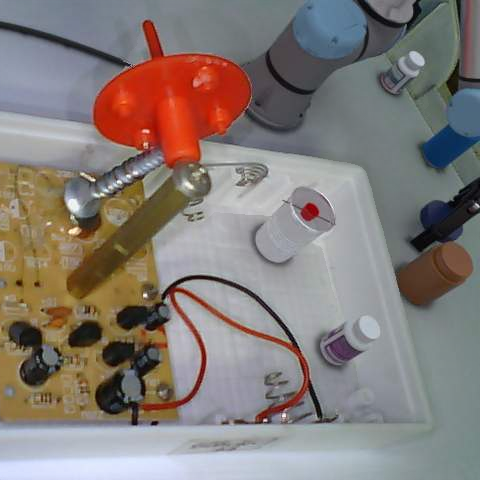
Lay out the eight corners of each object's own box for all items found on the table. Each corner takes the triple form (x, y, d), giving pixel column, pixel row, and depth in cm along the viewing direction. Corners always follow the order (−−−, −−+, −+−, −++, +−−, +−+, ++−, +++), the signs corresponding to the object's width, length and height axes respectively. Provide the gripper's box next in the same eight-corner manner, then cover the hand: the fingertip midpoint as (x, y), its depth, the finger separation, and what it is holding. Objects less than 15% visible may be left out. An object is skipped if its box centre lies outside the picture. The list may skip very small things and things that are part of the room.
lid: (456, 250, 148) (465, 244, 146) (420, 234, 146) (429, 228, 144) (452, 215, 153) (461, 209, 151) (418, 200, 151) (426, 193, 149)
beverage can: (445, 154, 168) (487, 121, 159) (443, 175, 164) (486, 142, 155) (421, 139, 167) (462, 105, 158) (418, 160, 163) (460, 126, 154)
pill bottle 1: (349, 367, 128) (387, 345, 120) (322, 364, 125) (359, 342, 118) (342, 336, 130) (380, 313, 123) (316, 333, 128) (352, 309, 121)
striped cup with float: (299, 235, 137) (340, 200, 128) (295, 275, 132) (338, 242, 123) (250, 213, 135) (288, 176, 125) (244, 253, 130) (284, 217, 120)
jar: (402, 303, 140) (446, 276, 132) (392, 264, 144) (434, 235, 136) (436, 308, 144) (481, 282, 135) (425, 269, 147) (468, 241, 139)
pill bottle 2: (398, 80, 174) (426, 54, 167) (400, 97, 171) (429, 71, 164) (379, 71, 173) (406, 44, 166) (381, 89, 170) (408, 62, 163)
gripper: (515, 127, 142) (428, 194, 159) (478, 182, 128) (388, 249, 146) (545, 157, 141) (455, 220, 159) (512, 215, 128) (418, 278, 145)
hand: (423, 234), depth 152 cm, fingers closed on lid, 8 cm apart
